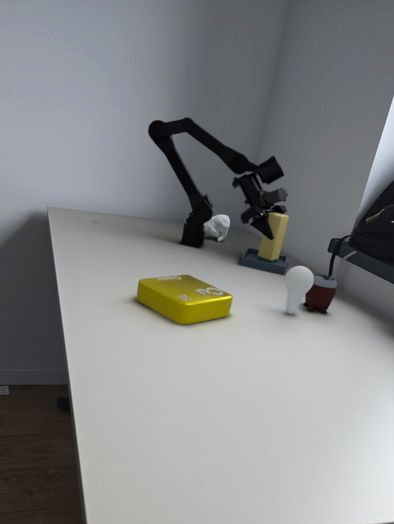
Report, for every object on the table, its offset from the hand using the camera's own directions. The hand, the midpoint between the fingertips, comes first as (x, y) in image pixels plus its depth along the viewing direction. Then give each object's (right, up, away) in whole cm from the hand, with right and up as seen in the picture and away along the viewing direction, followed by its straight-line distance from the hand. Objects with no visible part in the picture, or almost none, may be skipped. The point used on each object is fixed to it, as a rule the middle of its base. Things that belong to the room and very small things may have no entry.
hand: (276, 238), depth 148 cm
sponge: (-2, -6, +4) cm, 7 cm away
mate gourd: (+5, -24, -30) cm, 39 cm away
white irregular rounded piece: (-19, +5, +22) cm, 30 cm away
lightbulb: (-3, -25, -37) cm, 45 cm away
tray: (-3, -7, +2) cm, 8 cm away
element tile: (-27, -25, -45) cm, 58 cm away
